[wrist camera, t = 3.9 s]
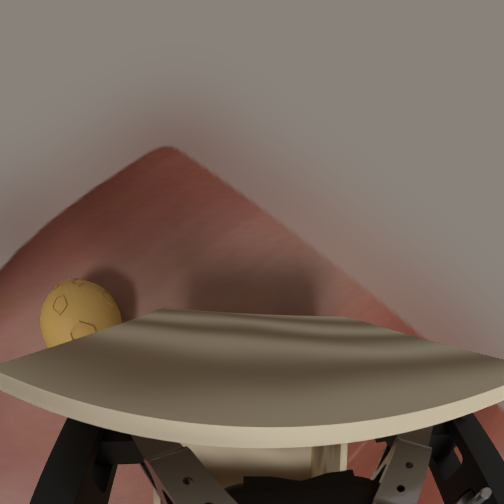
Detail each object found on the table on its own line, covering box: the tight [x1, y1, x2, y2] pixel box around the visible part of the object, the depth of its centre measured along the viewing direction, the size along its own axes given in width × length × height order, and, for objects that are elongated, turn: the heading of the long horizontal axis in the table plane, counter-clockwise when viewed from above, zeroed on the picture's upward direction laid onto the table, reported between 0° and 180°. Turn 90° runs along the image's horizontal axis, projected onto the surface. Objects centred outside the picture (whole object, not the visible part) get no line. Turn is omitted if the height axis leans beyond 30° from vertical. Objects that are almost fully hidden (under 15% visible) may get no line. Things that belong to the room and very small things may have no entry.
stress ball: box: [40, 279, 122, 348], centre depth 28 cm, size 10×10×10 cm
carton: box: [153, 443, 348, 504], centre depth 25 cm, size 20×16×10 cm
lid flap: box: [0, 307, 504, 448], centre depth 15 cm, size 20×16×1 cm
